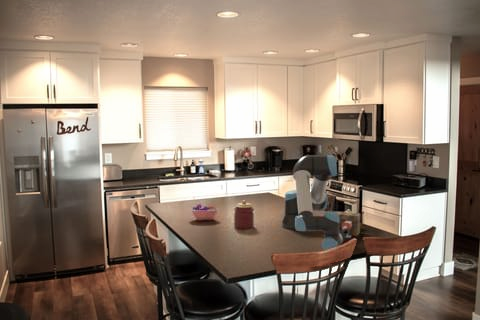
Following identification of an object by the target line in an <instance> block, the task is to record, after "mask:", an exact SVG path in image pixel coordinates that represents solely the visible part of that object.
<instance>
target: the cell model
mask: <svg viewBox="0 0 480 320" xmlns="http://www.w3.org/2000/svg"><path fill="white" fill-rule="evenodd" d="M189 211H190V213H191V215H192V217H193V218H194V219H195V220H197V221H202V222H203V221H212V220H213V219H215V218H216V217H217V215H218V214H219V208H218V207H215V206H209V205H206V206H205V205H204V206H202V204H201V203H199V204H196V206H193V207H191V208H189Z"/></svg>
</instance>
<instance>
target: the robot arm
mask: <svg viewBox="0 0 480 320" xmlns="http://www.w3.org/2000/svg"><path fill="white" fill-rule="evenodd" d="M292 171H293V172H292V177H293V179H294V180H295V188H296V189H294V190H288V191H287V192H285V193H284V215H283V219H282V221H281V227H282V228H284V229H287V230H288V229H290V230H296V231H298V232H323V240H322V241H321V247H322V249H323V250H324V251H325V250H327V249H331V248H334V247H337V246H339V245H340V246H341V244H342V243H344V241H345V240H346V239H349V240H351V239H352V235H351V234H350V231H349V230H348V229H347V226H344V227H343V228H342V227H340V229H339V223H340V222H339V214H338V213H336V212H327V211H326V210H327V207H328V202H329V201H328V200H329V199H328V194H327V192H326V190H327V186H328V182H329V181H330V180H331V179H332V177H336V176H337V175H338V169H337V159H336V156H335V155H330V154H328V155H327V154H325V155H322V154H319V155H315V154H313V155H309V154H308V155H304V156H302V157H300V158H299V159H298V161H296V163H295V165H294V167H293V170H292ZM312 176H313V180H312V184H311V181H310V179H311V177H312ZM315 211H317V212H321V211H325V212H324V214H323V215H314V212H315ZM346 233H347V235H346ZM340 246H339V247H340Z"/></svg>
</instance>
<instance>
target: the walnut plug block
mask: <svg viewBox="0 0 480 320" xmlns="http://www.w3.org/2000/svg"><path fill="white" fill-rule="evenodd" d="M326 212H336V213H338V214H339V222H340V223H339V229H340V227H341V226H342V224H343V223H344V222H345V221H347V220H353V226H352V227H351V229H350V230H349V231H350V234H351V236H355V237H358V236H359V235H360V234H361V213H360V212H359V213H357V212H353V213H348V212H345V211H335V210H327V211H326ZM346 235H347V233H346Z"/></svg>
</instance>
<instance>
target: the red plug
mask: <svg viewBox="0 0 480 320" xmlns="http://www.w3.org/2000/svg"><path fill="white" fill-rule="evenodd" d="M344 226H347V229H348V230H350V229H351V227H352V226H353V220H347V221H345V222H344V223H343V224H342V226H341V227H342V228H343V227H344Z"/></svg>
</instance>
